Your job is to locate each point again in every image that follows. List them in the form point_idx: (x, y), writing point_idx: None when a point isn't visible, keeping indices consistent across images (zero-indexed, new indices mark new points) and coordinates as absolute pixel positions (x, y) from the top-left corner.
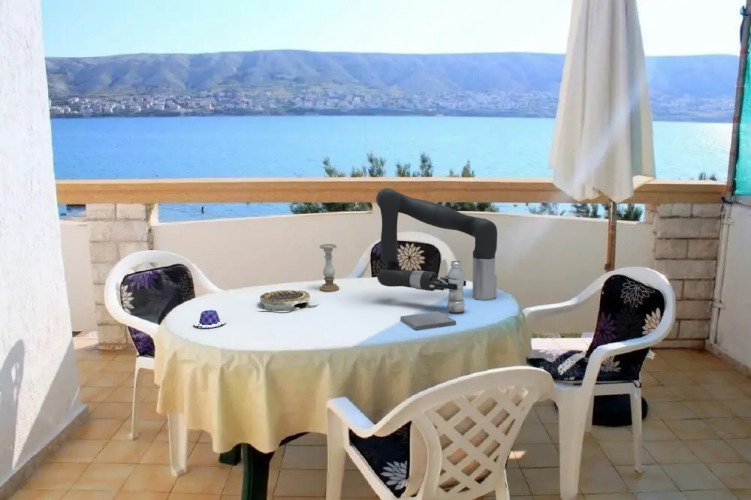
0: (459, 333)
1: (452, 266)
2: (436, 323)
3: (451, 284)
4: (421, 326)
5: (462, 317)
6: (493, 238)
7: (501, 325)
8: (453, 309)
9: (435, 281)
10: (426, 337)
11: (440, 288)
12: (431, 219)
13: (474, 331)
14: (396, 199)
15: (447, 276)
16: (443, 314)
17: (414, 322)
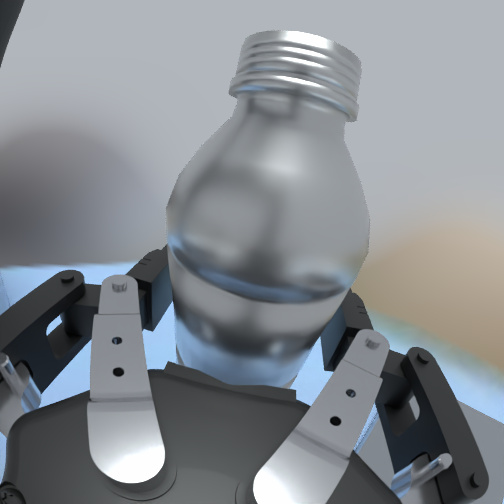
0: (434, 348)
1: (357, 112)
2: (461, 403)
3: (354, 309)
4: (497, 423)
5: (296, 391)
6: (9, 37)
7: None
8: None
9: (379, 500)
10: (500, 388)
11: (397, 416)
12: None
13: (397, 327)
14: None
15: (335, 281)
16: (368, 443)
17: (500, 456)
